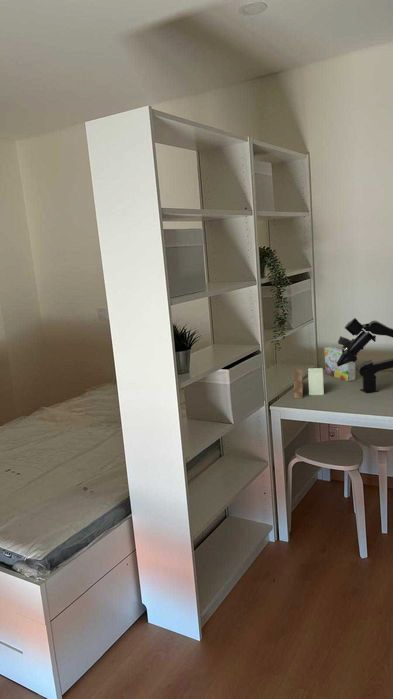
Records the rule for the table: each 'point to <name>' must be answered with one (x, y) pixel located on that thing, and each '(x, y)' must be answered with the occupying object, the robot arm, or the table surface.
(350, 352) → the robot arm
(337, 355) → the snack box
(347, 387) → the table surface
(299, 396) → the backstop board
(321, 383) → the green block
